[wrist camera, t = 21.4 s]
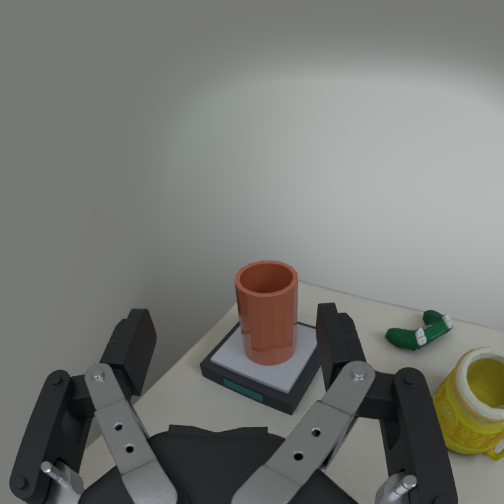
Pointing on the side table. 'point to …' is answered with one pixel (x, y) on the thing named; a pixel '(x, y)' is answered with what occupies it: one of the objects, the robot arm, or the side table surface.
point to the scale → (265, 370)
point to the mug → (473, 403)
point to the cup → (267, 311)
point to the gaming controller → (421, 331)
